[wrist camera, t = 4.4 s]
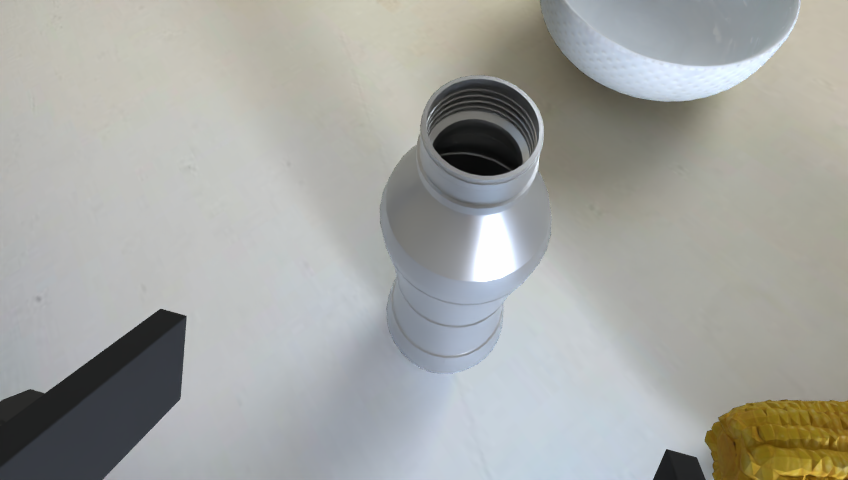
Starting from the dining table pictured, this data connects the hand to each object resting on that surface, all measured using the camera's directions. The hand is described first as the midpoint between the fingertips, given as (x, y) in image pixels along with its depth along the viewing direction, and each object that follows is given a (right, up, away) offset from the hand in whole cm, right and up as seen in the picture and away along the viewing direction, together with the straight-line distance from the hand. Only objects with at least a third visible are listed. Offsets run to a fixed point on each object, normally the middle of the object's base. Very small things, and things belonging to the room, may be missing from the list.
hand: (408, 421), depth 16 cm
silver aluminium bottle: (+1, 0, +19) cm, 20 cm away
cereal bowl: (+16, +20, +29) cm, 39 cm away
